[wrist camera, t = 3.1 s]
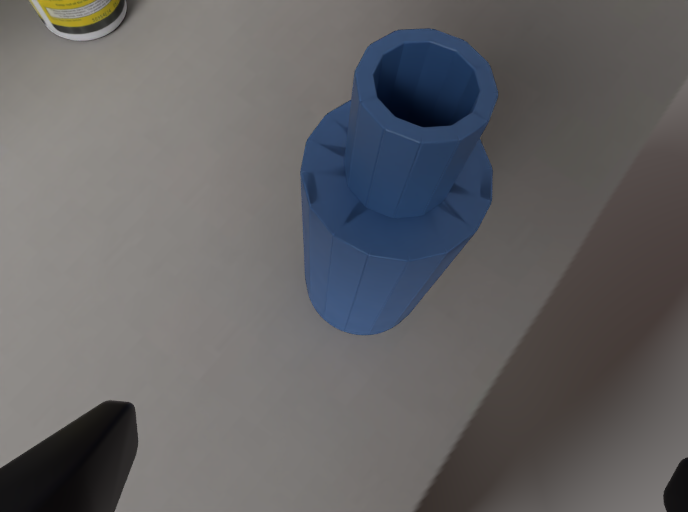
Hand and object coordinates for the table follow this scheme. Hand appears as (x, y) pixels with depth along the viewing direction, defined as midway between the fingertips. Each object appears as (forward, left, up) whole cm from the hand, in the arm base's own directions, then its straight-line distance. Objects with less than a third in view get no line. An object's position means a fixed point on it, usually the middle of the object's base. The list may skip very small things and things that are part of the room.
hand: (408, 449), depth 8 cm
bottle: (+5, -5, -13) cm, 15 cm away
